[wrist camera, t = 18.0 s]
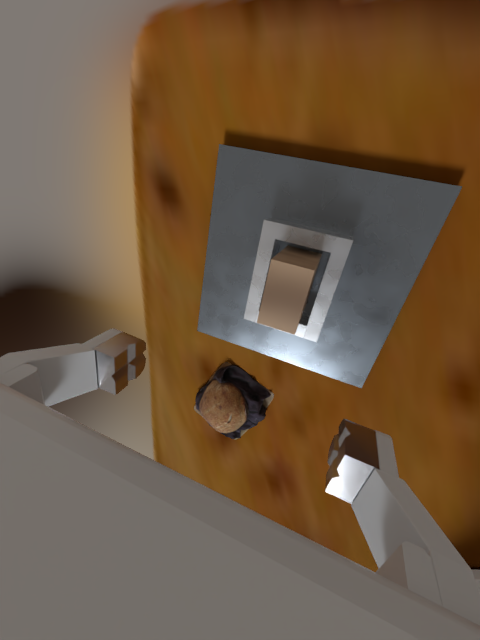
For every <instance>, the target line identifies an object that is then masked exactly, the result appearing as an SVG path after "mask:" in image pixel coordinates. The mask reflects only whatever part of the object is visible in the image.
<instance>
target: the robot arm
mask: <svg viewBox="0 0 480 640" xmlns="http://www.w3.org/2000/svg"><path fill="white" fill-rule="evenodd" d="M145 350H146V343H145V342H144V341H143V340H141V339H139V338H136V337H134V336H132V335H129V334H127V333H125V332H121V331H119V330H117V329H110V330H107V331H106V332H104V333H102V334H100V335H98V336H96V337H94V338H92V339H91V340H89V341H87V342H85V343H83V344H79V343H77V344H70V345H63V346H56V347H49V348H42V349H35V350H28V351H21V352H15V353H8V354H6V355H4V356H2V357H0V640H480V570H471V568H470V567H469V566H468V564H467V563H466V562H465V560H464V559H463V558H462V556H461V555H460V554H459V552H458V551H457V550H456V548H455V547H454V546H453V545H452V543H451V542H450V541H449V539H448V538H447V537H446V535H445V534H444V533H443V531H442V530H441V529H440V527H439V526H438V525H437V523H436V522H435V521H434V519H433V518H432V517H431V515H430V514H429V513H428V511H427V510H426V509H425V507H424V506H423V505H422V503H421V502H420V501H419V499H418V498H417V497H416V496H415V494H414V493H413V492H412V490H411V489H410V488H409V486H408V485H407V484H406V482H405V481H404V480H402V479H400V478H399V475H398V469H397V464H396V459H395V453H394V448H393V442H392V438H391V437H390V435H387V434H384V433H381V432H379V431H376V430H372V429H370V428H367V427H364V426H362V425H359V424H357V423H354V422H351V421H349V420H346V419H343V420H342V422H341V424H340V426H339V434H337V435H335V436H334V438H333V440H332V443H331V446H330V449H329V454H328V464H329V466H330V468H329V470H328V472H327V475H326V488H325V491H326V492H328V493H330V494H332V495H334V496H336V497H338V498H340V499H342V500H344V501H346V502H348V503H350V504H352V505H351V506H352V508H353V511H354V513H355V515H356V518H357V520H358V522H359V525H360V527H361V529H362V531H363V534H364V536H365V538H366V541H367V543H368V545H369V547H370V550H371V552H372V554H373V557H374V559H375V561H376V563H377V566H378V568H379V569H378V570H377V572H376V573H375V572H373V571H371V570H369V569H367V568H365V567H363V566H361V565H359V564H357V563H355V562H353V561H351V560H349V559H347V558H345V557H343V556H341V555H339V554H337V553H336V552H334V551H332V550H330V549H328V548H326V547H324V546H322V545H320V544H318V543H316V542H314V541H312V540H310V539H308V538H306V537H304V536H302V535H300V534H298V533H296V532H294V531H292V530H290V529H288V528H286V527H284V526H282V525H280V524H278V523H276V522H274V521H272V520H270V519H268V518H266V517H265V516H263V515H261V514H259V513H257V512H255V511H253V510H251V509H249V508H247V507H245V506H243V505H241V504H239V503H237V502H235V501H233V500H231V499H229V498H227V497H225V496H223V495H221V494H219V493H217V492H215V491H213V490H211V489H209V488H207V487H205V486H203V485H201V484H199V483H197V482H195V481H194V480H192V479H190V478H188V477H186V476H184V475H182V474H180V473H178V472H176V471H174V470H172V469H170V468H168V467H166V466H164V465H162V464H160V463H158V462H156V461H154V460H152V459H150V458H148V457H146V456H144V455H142V454H140V453H138V452H136V451H134V450H132V449H130V448H128V447H126V446H124V445H122V444H120V443H118V442H116V441H115V440H113V439H111V438H109V437H107V436H105V435H103V434H101V433H99V432H97V431H95V430H93V429H91V428H89V427H87V426H85V425H83V424H81V423H79V422H77V421H75V420H73V419H71V418H69V417H67V416H65V415H63V414H61V413H59V412H57V411H55V410H54V409H52V408H50V407H48V406H50V405H53V404H56V403H59V402H61V401H64V400H67V399H70V398H73V397H76V396H78V395H81V394H84V393H87V392H90V391H92V390H95V389H97V388H100V389H102V390H105V391H107V392H110V393H112V394H114V395H116V394H118V393H119V392H120V391H121V390H122V389H124V388H125V387H126V386H127V385H128V381H129V380H133V379H136V378H137V377H138V376H139V375H140V374H141V372H142V371H143V369H144V367H145V361H146V358H145V356H144V354H143V352H144V351H145Z"/></svg>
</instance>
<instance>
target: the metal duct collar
mask: <svg viewBox="0 0 480 640" xmlns="http://www.w3.org/2000/svg"><path fill="white" fill-rule="evenodd" d="M461 188H462V186H456V185H450V184H444V183H439V182H433V181H427V180H422V179H416V178H410V177H404V176H399V175H393V174H387V173H381V172H376V171H370V170H364V169H359V168H353V167H347V166H341V165H336V164H330V163H324V162H318V161H313V160H307V159H301V158H296V157H290V156H284V155H278V154H273V153H267V152H261V151H255V150H250V149H244V148H238V147H233V146H227V145H221V144H219V152H218V160H217V169H216V177H215V186H214V194H213V203H212V211H211V219H210V228H209V236H208V245H207V253H206V262H205V270H204V279H203V287H202V296H201V304H200V313H199V321H198V330H197V331H200V332H203V333H205V334H208V335H211V336H214V337H217V338H220V339H222V340H225V341H228V342H231V343H234V344H237V345H240V346H242V347H245V348H248V349H251V350H254V351H257V352H260V353H262V354H265V355H268V356H271V357H274V358H277V359H280V360H282V361H285V362H288V363H291V364H294V365H297V366H300V367H302V368H305V369H308V370H311V371H314V372H317V373H320V374H322V375H325V376H328V377H331V378H334V379H337V380H340V381H342V382H345V383H348V384H351V385H354V386H357V387H359V388H362V386H363V384H364V382H365V380H366V378H367V376H368V374H369V372H370V370H371V368H372V366H373V364H374V362H375V360H376V358H377V356H378V354H379V352H380V350H381V348H382V346H383V344H384V342H385V340H386V338H387V336H388V334H389V332H390V330H391V328H392V326H393V324H394V322H395V320H396V318H397V316H398V314H399V312H400V310H401V308H402V306H403V304H404V302H405V300H406V298H407V296H408V294H409V292H410V290H411V288H412V286H413V284H414V282H415V280H416V278H417V276H418V274H419V272H420V270H421V268H422V266H423V264H424V262H425V260H426V258H427V256H428V254H429V252H430V250H431V248H432V246H433V244H434V242H435V240H436V238H437V236H438V234H439V232H440V230H441V228H442V226H443V224H444V222H445V220H446V218H447V216H448V214H449V212H450V210H451V208H452V206H453V204H454V202H455V200H456V198H457V196H458V194H459V192H460V190H461ZM286 246H292V247H296V248H300V249H304V250H308V251H312V252H316V253H320V254H322V256H321V259H320V262H319V265H318V268H317V271H316V275H315V278H314V281H313V284H312V287H311V290H310V294H309V297H308V300H307V303H306V306H305V309H304V312H303V314H302V317H301V320H300V322H299V325H298V327H297V330H296V333H295V335H294V334H291V333H287V332H284V331H281V330H278V329H275V328H272V327H269V326H266V325H263V324H260V323H257V319H258V315H259V310H260V306H261V302H262V297H263V293H264V289H265V284H266V280H267V276H268V271H269V267H270V263H271V259H272V258H273V257H274V256H276V255H277V254H278V253H279V252H280V251H282V250H283V249H284V248H285V247H286Z"/></svg>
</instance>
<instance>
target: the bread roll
mask: <svg viewBox="0 0 480 640" xmlns="http://www.w3.org/2000/svg"><path fill="white" fill-rule="evenodd" d="M273 397H274V394H273V393H272V392H271V391H269V390H268V389H266V388H265V387H264V386H262V385H261V384H260V383H258V382H257V381H255V380H254V379H253V378H252V377H251V376H250V375H249V374H248V373H247V372H246V371H244V370H243V369H241V368H240V367H237V366H234V365H231V364H229V363H228V362H225V363H224V364H222V365H221V367H219V368H218V370H217V371H216V372H215V373H214V375H212V376H211V378H210V380H209V381H208V383H207V384H206V385H205V386H204V387H202V388H201V390H200V391H199V392H198V393H197V396H196V405H195V406H194V410H195V411H196V412H197V413H198V414H200V415H201V416H202V417H203V418H204V419H205V420H206V421H207V422H208V424H209V425H210V426H211V427H213V428H214V429H215V430H216V431H218V432H221V433H222V434H223V435H225V436H226V437H230V438H231V439H238V438H241V436H242V435H243V434H244V433H245V432H246V431H247V430H248V429H250V428H252V427H254V426H256V425H257V423H258V422H259V421H262V420H263V419H264V417H265V416H266V415H265V412H266V408H267V407H268V405H269V404H270V402H271V401H272V399H273Z"/></svg>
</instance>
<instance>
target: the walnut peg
mask: <svg viewBox="0 0 480 640" xmlns="http://www.w3.org/2000/svg"><path fill="white" fill-rule="evenodd" d="M321 256H322V254H320V253H316V252H312V251H308V250H304V249H300V248H296V247H292V246H286V247H285V248H284V249H283V250H282V251H280V252H279V253H278V254H277V255H276V256H274V257H273V258H272V259H271V263H270V267H269V271H268V276H267V280H266V284H265V289H264V293H263V297H262V302H261V306H260V310H259V315H258V319H257V323H260V324H263V325H266V326H269V327H272V328H275V329H278V330H281V331H284V332H287V333H291V334H294V335H295V333H296V330H297V327H298V325H299V322H300V320H301V317H302V314H303V312H304V309H305V306H306V303H307V300H308V297H309V294H310V290H311V287H312V284H313V281H314V278H315V275H316V271H317V268H318V265H319V262H320V259H321Z"/></svg>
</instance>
